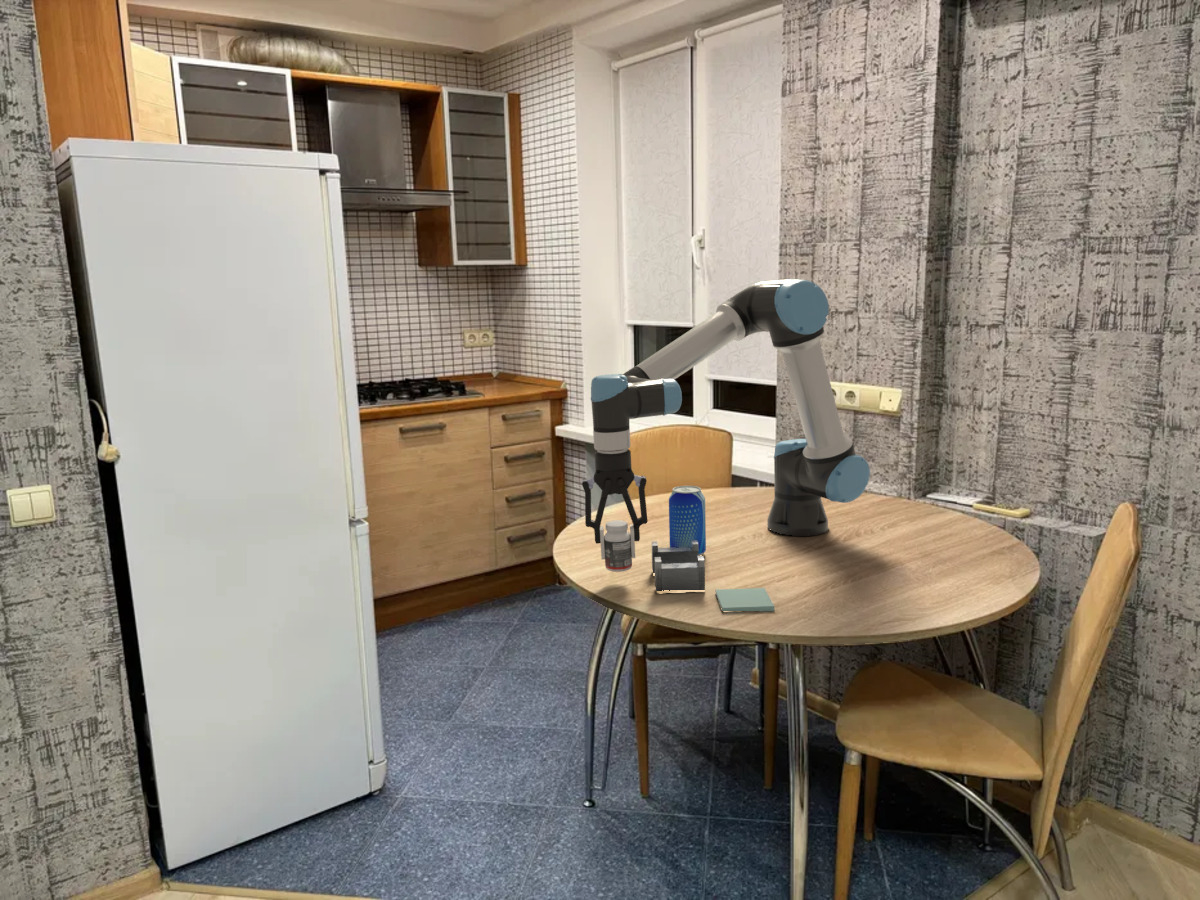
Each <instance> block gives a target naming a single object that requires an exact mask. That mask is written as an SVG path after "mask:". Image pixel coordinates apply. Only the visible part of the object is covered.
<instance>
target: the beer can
mask: <svg viewBox="0 0 1200 900" xmlns="http://www.w3.org/2000/svg"><path fill="white" fill-rule="evenodd" d="M668 519H669V520H668V524H669V525H668V528H669V530H668V531H669V548H670V547H692V540H697V541H698V544H699V556H700V555H702V554H703V555H704V554H705V553H706V550H707V538H706V537H707V534H706V533H707V532H706V528H707V527H706V525H707V524H706V522H707V521H706V497H705V496H704V494H703V492H702V488H701V487H699V486H695V485H680V486H675V487H673V488H672V492H671V494H670V496H669V497H668Z"/></svg>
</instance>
